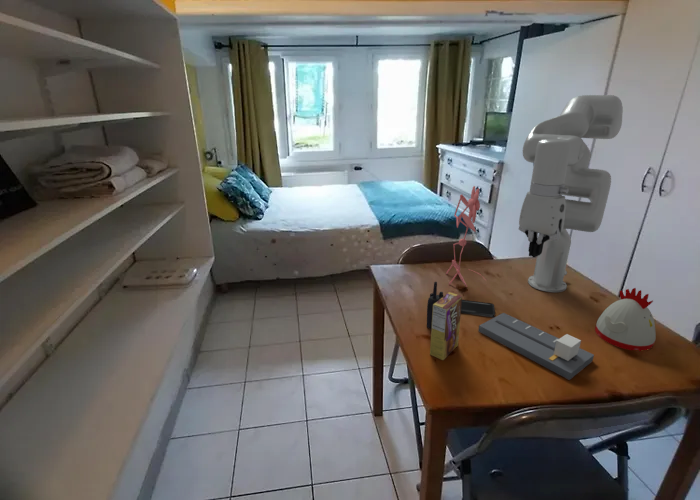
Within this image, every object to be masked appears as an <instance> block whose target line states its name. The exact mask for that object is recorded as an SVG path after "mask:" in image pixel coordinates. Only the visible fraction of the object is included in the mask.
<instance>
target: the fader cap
mask: <svg viewBox="0 0 700 500" xmlns="http://www.w3.org/2000/svg"><path fill="white" fill-rule="evenodd" d="M581 342H582V340H581V339H579V338H577V337H574V336H572V335H570V334H568V333H566V334H564V335H563V336H561V337H560V338H559V339H558V340H557V342H556V346H555V351H554V354H555V355H557V356H559V357H561V358H563V359H565V360H567V361H569V360H570V359H571V358H573V357H574V356H575V355H577V354H578V351H579V348H581Z"/></svg>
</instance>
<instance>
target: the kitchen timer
mask: <svg viewBox="0 0 700 500" xmlns="http://www.w3.org/2000/svg"><path fill="white" fill-rule="evenodd" d="M649 294H650V293H646V294H644V296H643V297H642V289H640V290H638V291H637V289H636V287H634V288H632V289H631V291H630V289H629V288H627V289H625V294H624V291H623V290H619V297H620V299H618V300H616V301H614V302H613V303H611V304H610V305H608V307H606V308H605V310H603V312H602V313H601V315H599V317H598V318H597V321H596V324H595V328H594V331H595V333H596V335H597V337H599V338H600V339H601V340H603V341H604V342H606V343H608V344H610V345H613V346H615V347H617V348H621V349H623V350H627V349H628V351H632V350H639V351H638V352H642V351H641V350H647V349H649V350H651V349H652V348H653V347H654V346H655V342H656V338H657V337H656V336H657V335H656V325H655V324H656V323H655V319H654V316H653V313H652V311H651V310H650V309H649V306H650V305H651V304H652V303H653V302H654V300H650V301H648V298H649ZM653 345H654V346H653ZM652 346H653V347H652ZM651 347H652V348H651ZM650 348H651V349H650ZM647 351H648V350H647Z"/></svg>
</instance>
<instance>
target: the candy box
mask: <svg viewBox="0 0 700 500" xmlns="http://www.w3.org/2000/svg"><path fill="white" fill-rule="evenodd" d="M462 300H463V296H462V295H460V294H457V293H453V292H451V291H449V292H447V293H446V294H444V295H443V297H442V298H441V299H440V300H438V301H437V302H436V303H435V304H433V312H432V328H431V329H430V330H431V331H430V332H431V333H430V347H429V348H430V349H429V355H430V356H432V357H435V358H437V359H439V360H441V361H444V360H445V359H446V358H447V357H448V356H449V355H450V354H451V353H452V352H453V351H454V350H455V349H456V347H458V346H459V341H460V340H459V338H460V336H459V335H460V328H461V327H460V325H461V315H462V313H461V304H462Z"/></svg>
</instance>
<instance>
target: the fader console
mask: <svg viewBox="0 0 700 500" xmlns="http://www.w3.org/2000/svg"><path fill="white" fill-rule="evenodd" d="M477 331H478V333H480V334H481V335H482V334H483V335H484V336H487V338H490V339H492V340H494V341H495V342H497V343H499V344H501V345H503V346H505V347H507V348H509V349H510V350H513V351H514V352H516V353H518V354H519V355H522V356H523V357H525V358H527V359H529V360H531V361H532V362H535V363H537V364H538V365H540V366H543V367H545V368H546V369H548V370H550V371H552V372H554V373H556V374H557V375H559V376H561V377H563V378H564V379H567V380H569V381H570V380H572V379H573V378H574V377H575V376H576V375H578V374H579V373H581V371H582V370H584V368H587V366H589V365H590V364H591V363H592V362H593V361H594V357H595V354H594V353H592V352H590V351H587V350H585V349H583V348H581V347H579V351H578V354H577V355H575V356H574V357H573V358H571V359H570V360H569V361H567V360H565V359H563V358H561V357H559V356H557V355H555V354H554V351H555V346H556V342H557V340H558V339H560V338H559V337H557V336H555V335H552V334H550V333H548V332H546V331H544V330H541V329H540V328H537V327H535V326H533V325H532V324H529V323H527V322H525V321H522V320H520V319H518V318H516V317H514V316H511V315H509V314H507V313H505V312H502V313H500V314H498V315H497V316H496V315H495V316H494V317H492V318H491V319H489V320H486V321H485V322H483V323H481V324H479V325H478V330H477Z"/></svg>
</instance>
